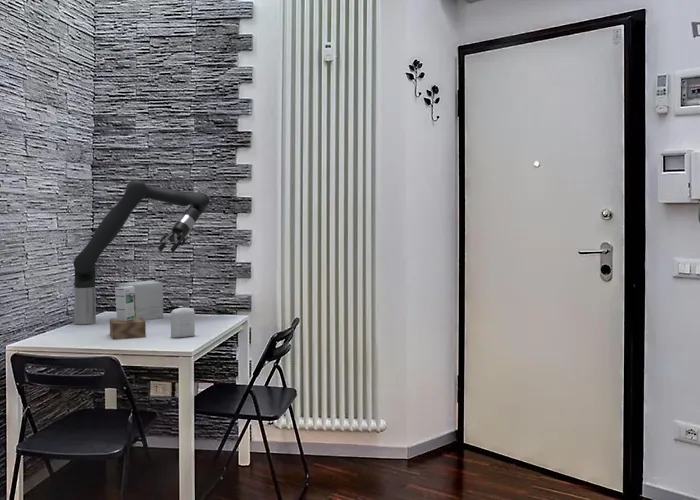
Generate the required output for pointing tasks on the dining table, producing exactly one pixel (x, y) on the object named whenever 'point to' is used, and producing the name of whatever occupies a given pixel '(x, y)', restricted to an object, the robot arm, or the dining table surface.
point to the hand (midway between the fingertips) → (165, 250)
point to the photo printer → (182, 322)
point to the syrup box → (125, 303)
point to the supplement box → (148, 299)
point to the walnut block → (127, 328)
